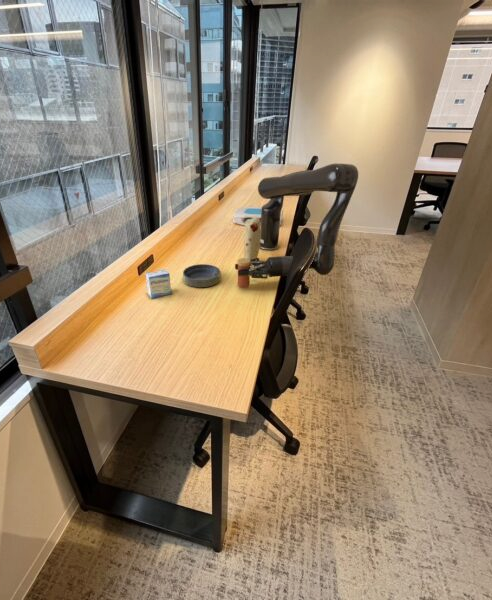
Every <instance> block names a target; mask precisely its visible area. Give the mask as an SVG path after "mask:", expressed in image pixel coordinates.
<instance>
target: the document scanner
mask: <svg viewBox="0 0 492 600" xmlns="http://www.w3.org/2000/svg"><path fill="white" fill-rule="evenodd" d="M261 208H262V206H243V207H237V208H236V210H235V211H234V214H233V216H232V223H234V224H238V225H241V226H245V225H246V220H247V219H251V218H254V217H257V218H259V219H261ZM283 214H284V210H283V209H281V216H280V226H282V223H283V216H284V215H283ZM260 226H261V222H260Z"/></svg>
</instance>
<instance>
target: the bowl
mask: <svg viewBox="0 0 492 600" xmlns="http://www.w3.org/2000/svg"><path fill="white" fill-rule="evenodd" d="M182 277H183V278H182V279H183V282H184V283H185V285H188V286H191V287H195V288H207V287H212V286H214V285H217V284H218V283H219V282H220V281H221V270H220V268H218V267H217V266H215V265H212V264H208V263H205V264H204V263H201V264H199V263H198V264H193V265H190V266H188V267H186V268H185V269H183V270H182Z"/></svg>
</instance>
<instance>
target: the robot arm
mask: <svg viewBox="0 0 492 600" xmlns="http://www.w3.org/2000/svg"><path fill="white" fill-rule="evenodd" d="M358 181H359V170H358V168H357V166H356V165H354V164H352V163H338V162H337V163H336V162H335V163H330V164H327V165H325V166H322V167H319V168H316V169H307V170H300V171H295V172H291V173H287V174H284V175H282V176H269V177H263V178H262V179H261V180H260V182H259V183H258V186H257V192H258V194H259V196H260V197H261V198H262V199H265V200H269V201H268V202H266V203H265V204H263V205H262V206H261V207H262V208H261V218H260V223H261V226H260V246H259V249H261V250H263V251H264V250H265V251H274V250H277V249H278V248H279V241H280V240H279V239H280V228H281V227H280V226H281V225H280V216H281V210H283V207H284V200H285V197H301V196H307V195H310V194H311V193H312V192H327V193H336V195H335V198H334V201H333V204H332V205H331V207H330V208H329V210H328V211H327V213H326V214H325V216H324V217H323V219H322V220H321V223H320V225H319V228H318V232H317V236H316V243H315V246H316V248H317V250H318V251H315V252H316V254H315V257H314V260H313V262H312V264H311V265H310V267H309V269H308V270H307V272H308V271H309V270H311V269H313V270H314V271H315V272H316V273H317V274H318V275H321V276H327V275H328V274H330V273H331V272H332V271H333V269H334V266H335V260H336V243H337V239H338V236H339V231H340V227H341V224H342V221H343V220H344V219H343V218H344V215H345V213H346V211H347V209H348V207H349V204H350V201H351V199H352V196H353V194H354V191H355V189H356V188H357V184H358ZM293 256H294V255H290V256H289V255H284V256H283V255H282V256H269V257H268V258H266V260H264V261H263V260H260V258H259V257H257V258H255V259H250V269H249V270H248V269H241V270H238V263H235V264H234V269H235V270H236V271H237V276H238V275H239V276H244V275H248V276H250V279H264V280H267V279H268V278H276V277H286V276H287V273H288V271H289V269H290V266H291V263H292V260H293Z"/></svg>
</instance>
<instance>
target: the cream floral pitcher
mask: <svg viewBox="0 0 492 600" xmlns="http://www.w3.org/2000/svg"><path fill="white" fill-rule="evenodd" d="M245 222H246V225H244V226H245V227H244V236H243V237H244V238H243V246H244V247H243V249H244V253H243V258H247V259H249V260H250V259H255V258H259V252H260V247H259V246H260V223H261V218H257V217H254V218H247V219H245Z"/></svg>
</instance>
